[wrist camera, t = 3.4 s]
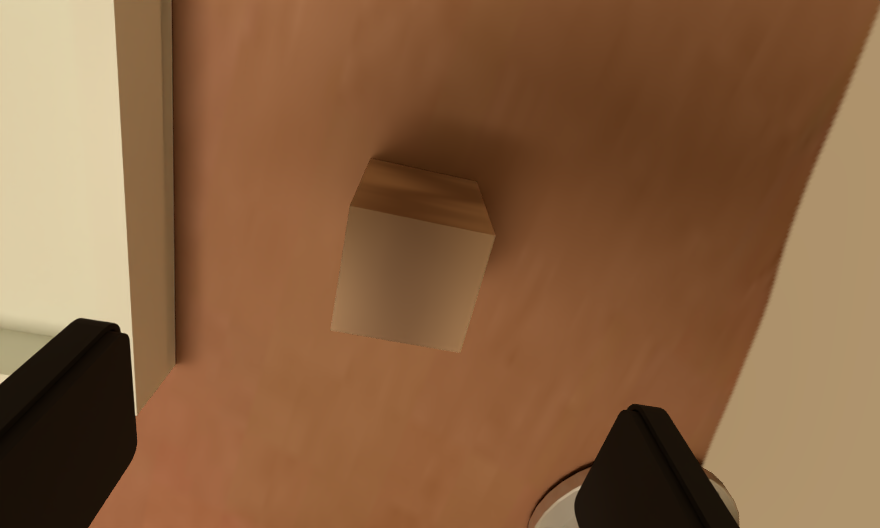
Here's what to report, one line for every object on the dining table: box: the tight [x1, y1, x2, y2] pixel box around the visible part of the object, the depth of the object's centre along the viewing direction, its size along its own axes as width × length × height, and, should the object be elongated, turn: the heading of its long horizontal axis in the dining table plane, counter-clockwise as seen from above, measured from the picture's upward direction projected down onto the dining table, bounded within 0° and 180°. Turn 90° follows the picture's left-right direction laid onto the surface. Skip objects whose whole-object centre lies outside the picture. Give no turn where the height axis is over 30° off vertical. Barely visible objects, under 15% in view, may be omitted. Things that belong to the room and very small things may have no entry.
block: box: [331, 158, 495, 353], centre depth 18 cm, size 4×4×6 cm
